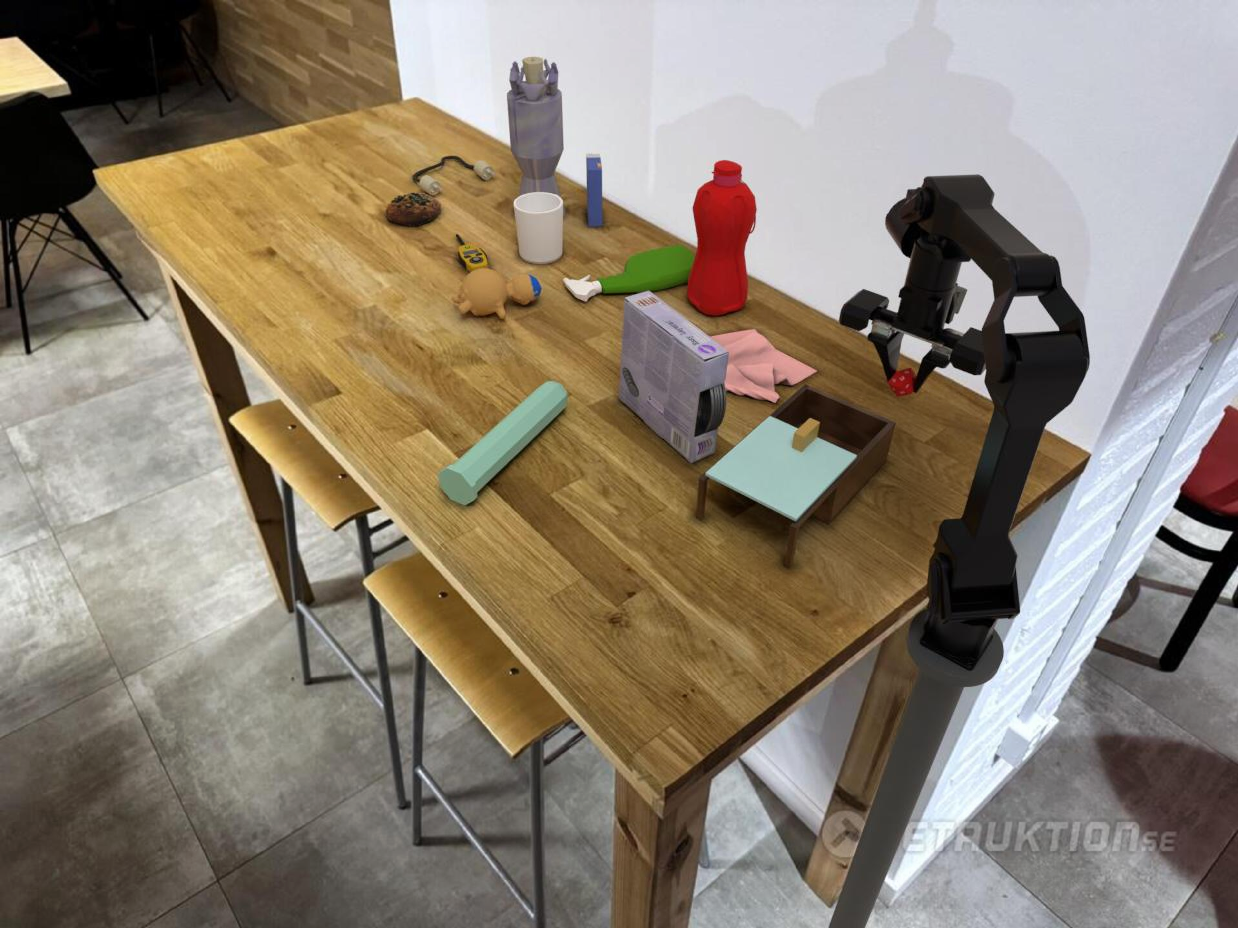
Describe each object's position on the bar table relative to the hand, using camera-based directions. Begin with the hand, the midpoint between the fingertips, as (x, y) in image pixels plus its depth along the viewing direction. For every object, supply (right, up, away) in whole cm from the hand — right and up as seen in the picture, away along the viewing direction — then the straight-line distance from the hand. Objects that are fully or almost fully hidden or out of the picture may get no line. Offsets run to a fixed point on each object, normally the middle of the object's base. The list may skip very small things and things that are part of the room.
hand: (903, 386), depth 119 cm
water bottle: (-19, +18, +41) cm, 49 cm away
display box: (-13, -14, +5) cm, 19 cm away
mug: (-51, +30, +55) cm, 81 cm away
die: (0, -1, +1) cm, 1 cm away
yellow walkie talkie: (-65, +29, +54) cm, 89 cm away
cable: (-74, +51, +80) cm, 121 cm away
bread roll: (-78, +40, +67) cm, 110 cm away
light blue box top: (-16, -10, -3) cm, 19 cm away
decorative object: (-53, +41, +68) cm, 95 cm away
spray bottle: (-34, +23, +47) cm, 62 cm away
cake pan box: (-30, -5, +15) cm, 33 cm away
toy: (-57, +16, +39) cm, 71 cm away
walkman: (-42, +39, +66) cm, 87 cm away
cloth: (-17, +5, +27) cm, 32 cm away
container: (-52, -8, +11) cm, 53 cm away
